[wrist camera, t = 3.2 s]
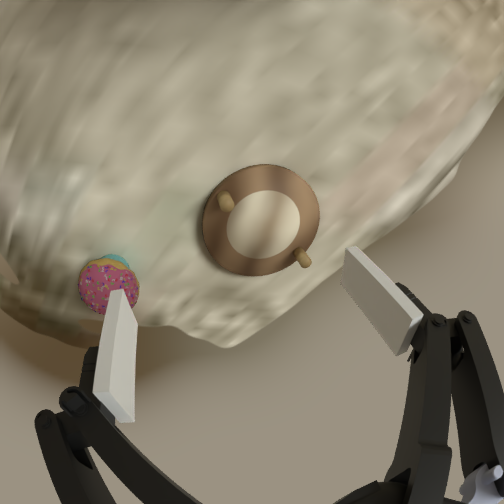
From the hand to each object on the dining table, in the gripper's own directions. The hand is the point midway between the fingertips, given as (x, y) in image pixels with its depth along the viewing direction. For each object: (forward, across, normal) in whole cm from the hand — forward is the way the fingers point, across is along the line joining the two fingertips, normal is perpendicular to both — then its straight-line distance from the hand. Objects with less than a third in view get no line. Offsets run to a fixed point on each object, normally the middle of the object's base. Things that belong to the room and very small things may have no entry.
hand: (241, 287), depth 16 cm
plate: (+21, +7, -7) cm, 23 cm away
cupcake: (+22, -15, -10) cm, 28 cm away
